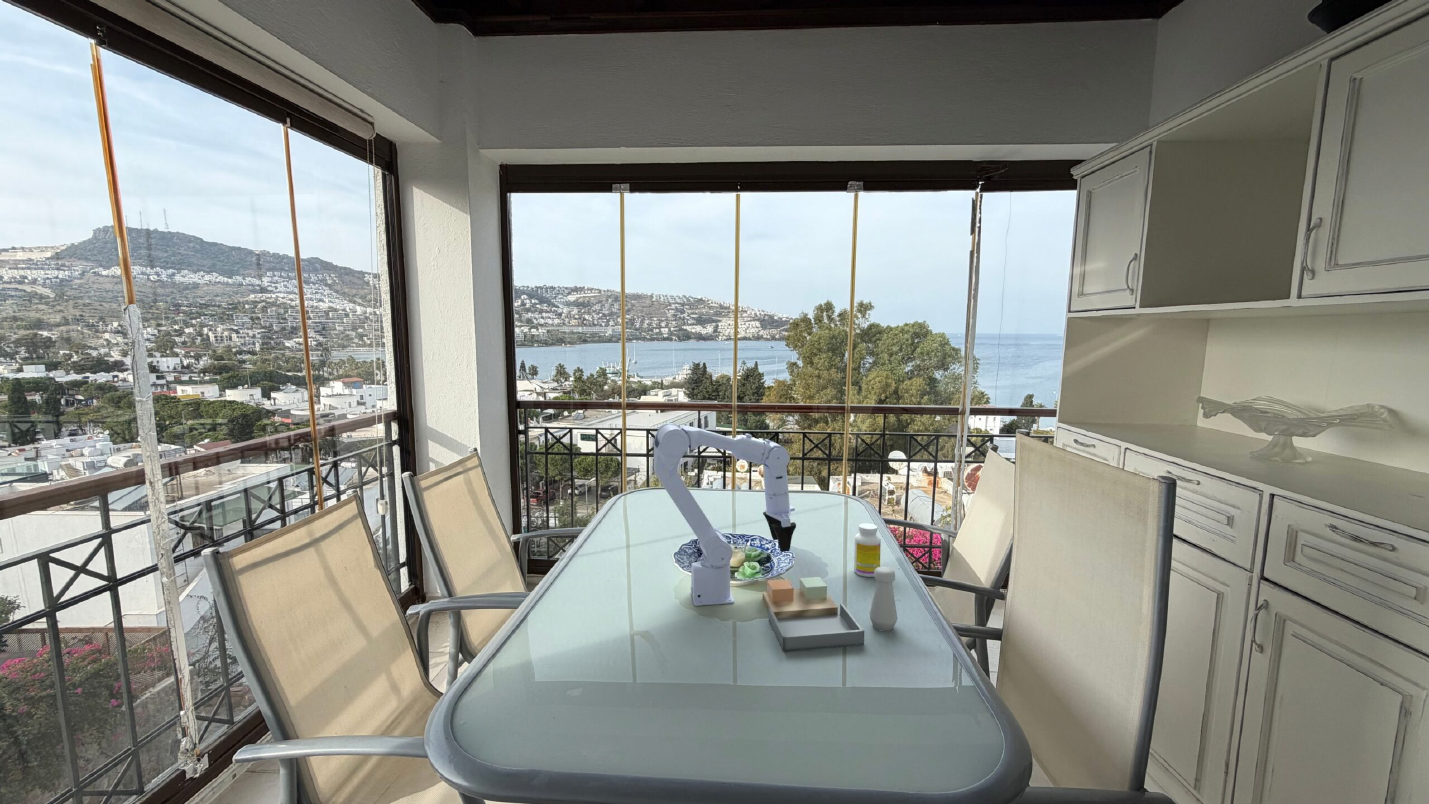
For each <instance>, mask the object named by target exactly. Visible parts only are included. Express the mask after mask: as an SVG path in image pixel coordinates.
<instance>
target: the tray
mask: <svg viewBox="0 0 1429 804" xmlns="http://www.w3.org/2000/svg"><path fill="white" fill-rule="evenodd" d="M768 623H769V625H770V628H771V629H772V631H773V634H774V636H775V638H776V640H777V642H778V644H779V647H780V648H781V650H782V652H784V653H786V652H796V651H808V650H817V649H818V650H821V649H829V648H830V649H831V648H842V647H843V648H844V647H855V646H856V647H857V646H864V645H865V630H864V628H863V627H862V626H861V625H860V623H859V622H858V621H857V620H856V618H855V617H854V615H852V613H851V612H850V611H849V609H848V608H847V607H846V606H845V605H844V603H841V602H840V603H839V613H838V614H834V615H821V616H808V617H795V618H782V619H777V618H776V616H775V614H774V613H773V611H772V609H769V612H768Z"/></svg>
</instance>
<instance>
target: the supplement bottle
mask: <svg viewBox="0 0 1429 804" xmlns="http://www.w3.org/2000/svg"><path fill="white" fill-rule="evenodd" d="M858 531H859V532H858V533H857V534H856V535H855V536H854V555H853V556H854V557H853V558H854V559H853V560H854V562H853V571H854V573H856V575H858V576H861V577H863V578H864V577H866V578H875V577H874V571H875V569H876V568H878V567H881V543H882V542H881V540H882V539H881V538H880V536H879V535H878V534H877V533H878V526H877V525H876V524H873V523H860V524H859V525H858Z"/></svg>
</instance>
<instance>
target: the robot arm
mask: <svg viewBox="0 0 1429 804" xmlns="http://www.w3.org/2000/svg"><path fill="white" fill-rule="evenodd" d="M680 427H681V428H680ZM700 446H704V447H708V448H713V449H717V450H721V451H727V452H731V454H732V456H733V457H734V459H737V460H740V461H741V460H742V461H746V462H750V463H753V464H758V465H762V469H763V470H762V471H763V483H764V484H763V485H764V497H765V511H763V512H762V515H763V516H764V518H765V520H766V522H767V524H768V527H769V531H770V534H771V538H772V540H773V541H777V543H778V547H779V550H780V553H785V552H789V551H790V550H791V543H792V539H793V535H794V532H795V530H796V528H797V524H796V522H794V521H793V522H791V514H792V513H791V512H795V511H796V509H795V508H796V507H795V506H793V505H790V504H791V503H790V495H789V493H790V492H789V491H790V490H789V480H788V469H787V466H788V464H789V463H790V461H791V456H790V455H789V452H788V451H787V449H786V448H785V447H784V446H782V445H780V444H778V443H776V442H775V441H774V442H773V441H772V440H770V439H766V438H765V439H764V440H763V439H761V438H760V439H759V438H755V437H753V435H752V434H749V433H745V435H743V434H739V435H737V436H735V437H730V436H726V435H723V434H720V433H717V432H713V431H709V430H705V429H703V428H699V427H696V426H690V425H684V424H679V425H677V424H675V423H670V422H669V423H668V422H667V423H665V424H662V425H661V426H660V427H658V429H657V432H656V434H655V437H654V439H653V471H654V474H655V476H656V477H657V479H658V480H659V482H660V483H661V485H662V487H663V488H664V490H665V491H666V493H667V494H668V495H669V497H670V498H671V500H672V501H673V503H674V504H675V506H676V507H677V510H678V511H679V512H680V514H681V515H682V516H683V518H684V520H685V521H686V523H687V524H688V526H689V527H690V528H691V530H692V532H693V533H694V535H695V536H696V538H697V540H698V546H699V548H700V550H701V551H702V554H701V556H700V559H699V561H696V562H692V563H691V568H690V570H691V571H690V574H691V575H690V577H691V578H690V579H691V581H690V582H691V584H690V585H691V586H690V593H691V596H692V600H693V605H694V606H696V607H697V606H711V605H722V604H723V605H725V604H733V603H735V599H734V597H733V594H732V591H731V560H732V558H733V549H732V546H731V545H730V544H729V542H727V541H726V539H725V538H724V535H723V534H722V532H721V531H720V530H718V529H716V528H714V527H713V525H712V523H711V522H710V520H709V519H708V517H707V515H706V514H705V512H703V511H704V510H703V509H702V508H701V507H700V505H699V504H698V502H697V500H696V499H695V497H694V496H693V494H692V493H691V491H690V490H689V488H688V487H687V485H686V483H685V482H684V480H683V479H682V478H681V476H680V475H679V473H678V471H677V470H678V467H679V464H680V462H681V459H682V458H683V457H684V455H685V454H686V453H687V451H688V449H690V450H691V451H692V450H695V449H697V448H698V447H700Z"/></svg>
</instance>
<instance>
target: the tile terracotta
mask: <svg viewBox="0 0 1429 804" xmlns="http://www.w3.org/2000/svg"><path fill="white" fill-rule="evenodd" d="M766 582H767V583H766V586H767V587H766V588H767V589H766V590H767V591H766V592H767V593H768V595H769V597H770V599H771V601H772V602H783V601H793V596H794V590H795V589H794V587H793V585H792V584H791V582H790V581H789V578H788V579H787V578H784V579H783V578H781V579H769V580H767V581H766Z"/></svg>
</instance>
